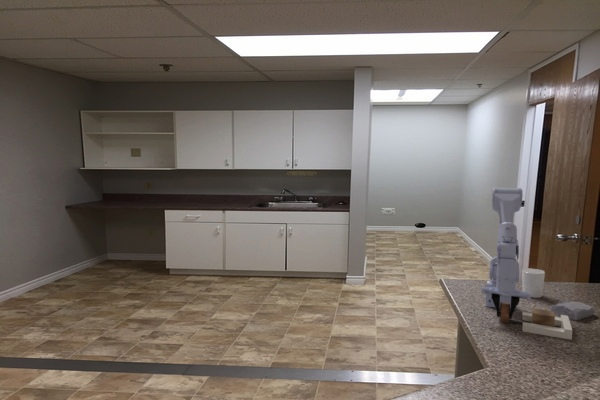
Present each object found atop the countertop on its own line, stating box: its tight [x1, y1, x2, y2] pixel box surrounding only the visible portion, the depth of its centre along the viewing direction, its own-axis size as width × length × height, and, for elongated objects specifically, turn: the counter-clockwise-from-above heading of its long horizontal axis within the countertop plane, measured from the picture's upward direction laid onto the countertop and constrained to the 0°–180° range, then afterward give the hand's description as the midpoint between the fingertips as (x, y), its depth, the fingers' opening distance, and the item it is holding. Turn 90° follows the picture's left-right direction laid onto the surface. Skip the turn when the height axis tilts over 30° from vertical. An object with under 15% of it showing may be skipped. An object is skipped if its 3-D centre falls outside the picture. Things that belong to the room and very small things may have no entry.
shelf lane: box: [521, 311, 573, 341], centre depth 130 cm, size 13×13×3 cm
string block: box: [499, 302, 556, 327], centre depth 132 cm, size 16×5×6 cm, turn 61°
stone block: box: [550, 300, 595, 321], centre depth 142 cm, size 12×5×10 cm
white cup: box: [521, 267, 546, 299], centre depth 161 cm, size 8×8×10 cm
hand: (504, 317), depth 135 cm, fingers open, 3 cm apart
